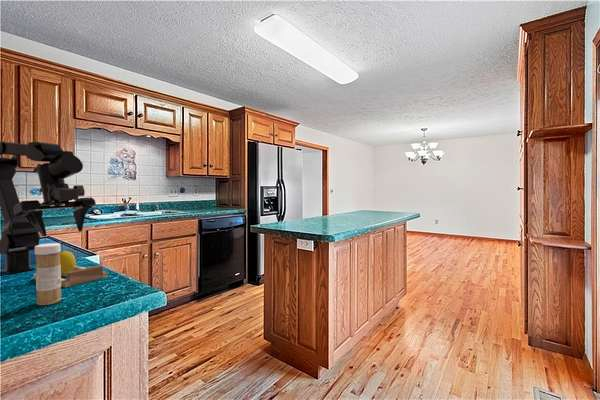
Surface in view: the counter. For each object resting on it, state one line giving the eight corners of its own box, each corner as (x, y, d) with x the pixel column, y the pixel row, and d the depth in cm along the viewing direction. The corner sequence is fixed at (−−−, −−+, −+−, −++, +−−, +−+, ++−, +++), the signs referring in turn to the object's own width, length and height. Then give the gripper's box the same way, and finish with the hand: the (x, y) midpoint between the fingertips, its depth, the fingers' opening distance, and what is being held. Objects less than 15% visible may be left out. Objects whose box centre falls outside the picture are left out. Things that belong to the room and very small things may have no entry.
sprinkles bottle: (46, 299, 72) (44, 242, 71) (66, 298, 72) (65, 242, 72) (30, 306, 67) (29, 246, 67) (52, 305, 67) (51, 246, 67)
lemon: (56, 275, 92) (56, 249, 92) (78, 273, 94) (77, 247, 94) (49, 280, 87) (48, 252, 87) (72, 278, 89) (71, 251, 89)
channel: (33, 279, 88) (33, 267, 88) (75, 270, 98) (75, 259, 98) (65, 287, 80) (65, 274, 80) (107, 276, 90) (107, 265, 90)
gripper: (25, 174, 78) (37, 233, 77) (100, 175, 95) (111, 223, 94) (7, 186, 83) (18, 241, 82) (81, 185, 100) (91, 231, 99)
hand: (63, 233), depth 89 cm, fingers open, 9 cm apart
